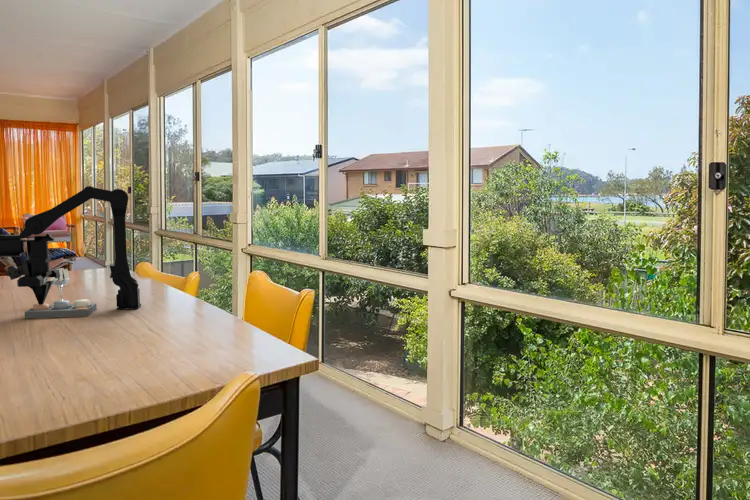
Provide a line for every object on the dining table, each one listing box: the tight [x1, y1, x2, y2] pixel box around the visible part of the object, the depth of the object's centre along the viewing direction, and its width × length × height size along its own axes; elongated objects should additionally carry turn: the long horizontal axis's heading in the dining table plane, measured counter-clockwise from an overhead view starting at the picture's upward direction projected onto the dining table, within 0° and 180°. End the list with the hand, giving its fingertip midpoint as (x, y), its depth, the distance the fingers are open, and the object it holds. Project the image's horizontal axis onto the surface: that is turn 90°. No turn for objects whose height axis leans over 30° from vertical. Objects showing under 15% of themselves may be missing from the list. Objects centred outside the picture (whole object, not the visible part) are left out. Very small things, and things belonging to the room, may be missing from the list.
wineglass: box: [50, 267, 70, 300], centre depth 198 cm, size 6×6×12 cm
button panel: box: [24, 303, 97, 319], centre depth 181 cm, size 18×10×2 cm, turn 102°
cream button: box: [73, 299, 91, 309], centre depth 182 cm, size 4×4×3 cm
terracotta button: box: [32, 302, 50, 310], centre depth 180 cm, size 4×4×3 cm
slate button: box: [53, 299, 70, 309], centre depth 181 cm, size 4×4×3 cm
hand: (41, 304), depth 180 cm, fingers closed, pressing on terracotta button
